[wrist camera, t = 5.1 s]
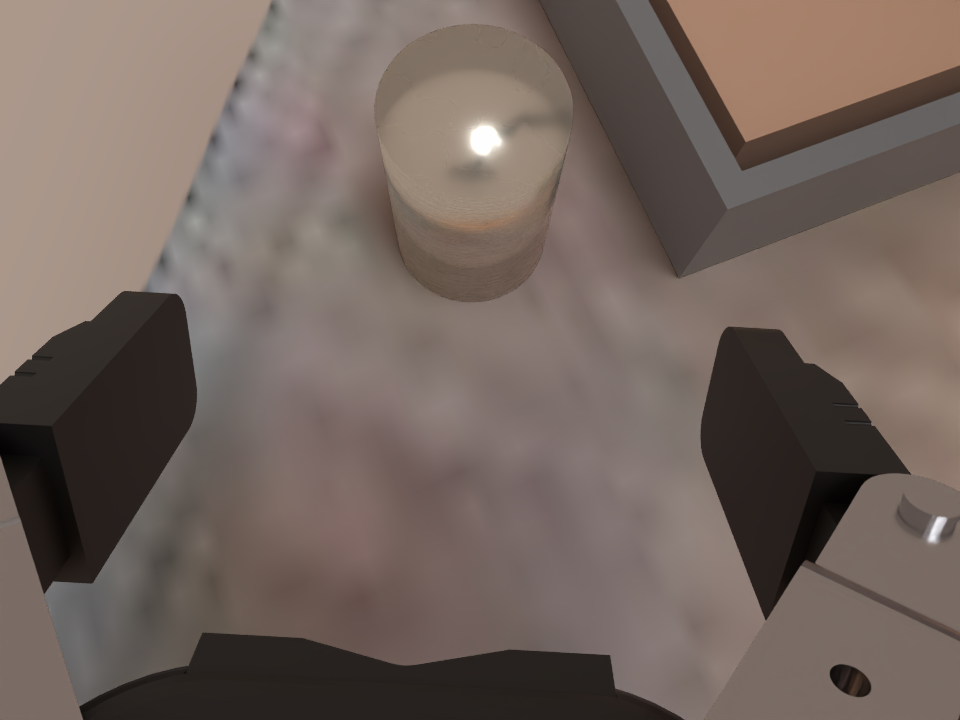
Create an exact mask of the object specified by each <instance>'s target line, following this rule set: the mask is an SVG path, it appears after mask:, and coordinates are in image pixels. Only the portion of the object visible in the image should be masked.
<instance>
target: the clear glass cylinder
mask: <svg viewBox="0 0 960 720" xmlns="http://www.w3.org/2000/svg"><path fill="white" fill-rule="evenodd" d="M573 111H574V110H573V100H572V95H571V91H570V88H569V85H568V83H567V80H566V78H565V76H564V74H563V73H562V71H561V69H560V68H559V66H558V65H557V64H556V62H555V61H554V60H553V59H552V57H550V56H549V55H548V54H547V53H546V52H545V51H544V50H543V49H542V48H541V47H539V46H538V45H537V44H535V43H534V42H532V41H531V40H529V39H527V38H526V37H524V36H522V35H519V34H517V33H515V32H513V31H509V30H506V29H503V28H499V27H494V26H489V25H478V24H470V25H458V26H451V27H447V28H443V29H439V30H436V31H434V32H431V33H429V34H426V35H424V36H423V37H421V38H419V39H417V40H415V41H414V42H412V43H411V44H410V45H408V46H407V47H406V48H404V49H403V50H402V51H401V52H400V53H399V54H398V55H397V56H396V57H395V58H394V60H393V61H392V62H391V63H390V65H389V66H388V68H387V69H386V71H385V72H384V74H383V77H382V79H381V81H380V83H379V86H378V90H377V93H376V99H375V121H376V126H377V132H378V137H379V143H380V148H381V153H382V159H383V164H384V169H385V174H386V180H387V185H388V190H389V196H390V201H391V206H392V212H393V217H394V222H395V228H396V233H397V238H398V244H399V249H400V252H401V255H402V258H403V260H404V262H405V264H406V266H407V268H408V269H409V271H410V272H411V274H412V275H413V276H414V277H415V278H416V279H417V281H419V282H420V283H421V284H422V285H423V286H424V287H426V288H427V289H429V290H430V291H432V292H434V293H436V294H438V295H440V296H442V297H445V298H448V299H451V300H456V301H461V302H482V301H488V300H492V299H495V298H499V297H501V296H503V295H506V294H508V293H509V292H511V291H513V290H514V289H516V288H517V287H518V286H520V285H521V284H522V283H523V282H524V281H525V280H526V279H527V278H528V277H529V276H530V275H531V273H532V272H533V271H534V269H535V268H536V266H537V264H538V262H539V260H540V257H541V254H542V251H543V247H544V242H545V238H546V234H547V230H548V226H549V221H550V217H551V213H552V209H553V205H554V201H555V196H556V192H557V188H558V184H559V180H560V175H561V171H562V167H563V163H564V159H565V155H566V150H567V146H568V142H569V138H570V134H571V129H572V124H573Z"/></svg>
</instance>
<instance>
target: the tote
mask: <svg viewBox="0 0 960 720" xmlns="http://www.w3.org/2000/svg"><path fill="white" fill-rule="evenodd" d="M540 2H541V4H542V6H543V8H544V10H545V12H546V14H547V16H548V18H549V20H550V22H551V24H552V26H553V28H554V30H555V32H556V34H557V36H558V38H559V40H560V42H561V44H562V46H563V48H564V50H565V52H566V54H567V56H568V58H569V60H570V62H571V64H572V66H573V68H574V70H575V72H576V74H577V76H578V78H579V80H580V82H581V84H582V86H583V88H584V90H585V92H586V94H587V96H588V98H589V100H590V102H591V104H592V106H593V108H594V110H595V112H596V114H597V116H598V118H599V120H600V122H601V124H602V126H603V128H604V130H605V132H606V134H607V136H608V138H609V140H610V142H611V144H612V146H613V148H614V150H615V152H616V153H617V155H618V157H619V159H620V161H621V163H622V165H623V167H624V169H625V171H626V173H627V175H628V177H629V179H630V181H631V183H632V185H633V187H634V189H635V191H636V193H637V195H638V197H639V199H640V201H641V203H642V205H643V207H644V209H645V211H646V213H647V215H648V217H649V219H650V221H651V223H652V225H653V227H654V229H655V231H656V233H657V235H658V237H659V239H660V241H661V243H662V245H663V247H664V249H665V251H666V253H667V255H668V257H669V259H670V261H671V263H672V265H673V267H674V269H675V271H676V273H677V275H678V277H679V278H681V277H684V276H686V275H689V274H691V273H694V272H697V271H699V270H702V269H705V268H707V267H710V266H713V265H715V264H718V263H721V262H723V261H726V260H728V259H731V258H734V257H736V256H739V255H742V254H744V253H747V252H750V251H752V250H755V249H757V248H760V247H763V246H765V245H768V244H771V243H773V242H776V241H779V240H781V239H784V238H787V237H789V236H792V235H794V234H797V233H800V232H802V231H805V230H808V229H810V228H813V227H816V226H818V225H821V224H823V223H826V222H829V221H831V220H834V219H837V218H839V217H842V216H845V215H847V214H850V213H853V212H855V211H858V210H860V209H863V208H866V207H868V206H871V205H874V204H876V203H879V202H882V201H884V200H887V199H889V198H892V197H895V196H897V195H900V194H903V193H905V192H908V191H911V190H913V189H916V188H919V187H921V186H924V185H926V184H929V183H932V182H934V181H937V180H940V179H942V178H945V177H948V176H950V175H953V174H955V173H958V172H960V91H959V92H958V93H955V94H953V95H950V96H947V97H944V98H942V99H939V100H936V101H933V102H931V103H928V104H925V105H922V106H920V107H917V108H914V109H911V110H909V111H906V112H903V113H900V114H898V115H895V116H892V117H889V118H887V119H884V120H881V121H878V122H876V123H873V124H870V125H867V126H865V127H862V128H859V129H856V130H854V131H851V132H848V133H845V134H843V135H840V136H837V137H834V138H832V139H829V140H826V141H824V142H821V143H818V144H815V145H813V146H810V147H807V148H804V149H802V150H799V151H796V152H793V153H791V154H788V155H785V156H782V157H780V158H777V159H774V160H771V161H769V162H766V163H763V164H760V165H758V166H755V167H752V168H749V169H747V170H744V171H742V170H741V169H740V167H739V165H738V163H737V161H736V159H735V158H734V156H733V154H732V152H731V150H730V149H729V147H728V145H727V143H726V141H725V139H724V138H723V136H722V134H721V132H720V130H719V128H718V127H717V125H716V123H715V121H714V119H713V117H712V116H711V114H710V112H709V110H708V108H707V107H706V105H705V103H704V101H703V99H702V97H701V96H700V94H699V92H698V90H697V88H696V86H695V85H694V83H693V81H692V79H691V77H690V76H689V74H688V72H687V70H686V68H685V66H684V65H683V63H682V61H681V59H680V57H679V55H678V54H677V52H676V50H675V48H674V46H673V44H672V43H671V41H670V39H669V37H668V35H667V34H666V32H665V30H664V28H663V26H662V24H661V23H660V21H659V19H658V17H657V15H656V13H655V12H654V10H653V8H652V6H651V4H650V3H649V1H648V0H540Z"/></svg>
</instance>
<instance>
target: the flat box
mask: <svg viewBox="0 0 960 720" xmlns="http://www.w3.org/2000/svg"><path fill="white" fill-rule="evenodd" d="M648 1H649V3H650V4H651V6H652V8H653V10H654V12H655V13H656V15H657V17H658V19H659V21H660V23H661V24H662V26H663V28H664V30H665V32H666V34H667V35H668V37H669V39H670V41H671V43H672V44H673V46H674V48H675V50H676V52H677V54H678V55H679V57H680V59H681V61H682V63H683V65H684V66H685V68H686V70H687V72H688V74H689V76H690V77H691V79H692V81H693V83H694V85H695V86H696V88H697V90H698V92H699V94H700V96H701V97H702V99H703V101H704V103H705V105H706V107H707V108H708V110H709V112H710V114H711V116H712V117H713V119H714V121H715V123H716V125H717V127H718V128H719V130H720V132H721V134H722V136H723V138H724V139H725V141H726V143H727V145H728V147H729V149H730V150H731V152H732V154H733V156H734V158H735V159H736V161H737V163H738V165H739V167H740V169H741V170H742V171H744V170H747V169H749V168H752V167H755V166H758V165H760V164H763V163H766V162H769V161H771V160H774V159H777V158H780V157H782V156H785V155H788V154H791V153H793V152H796V151H799V150H802V149H804V148H807V147H810V146H813V145H815V144H818V143H821V142H824V141H826V140H829V139H832V138H834V137H837V136H840V135H843V134H845V133H848V132H851V131H854V130H856V129H859V128H862V127H865V126H867V125H870V124H873V123H876V122H878V121H881V120H884V119H887V118H889V117H892V116H895V115H898V114H900V113H903V112H906V111H909V110H911V109H914V108H917V107H920V106H922V105H925V104H928V103H931V102H933V101H936V100H939V99H942V98H944V97H947V96H950V95H953V94H955V93H958V92H959V91H960V0H648Z"/></svg>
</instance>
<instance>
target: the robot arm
mask: <svg viewBox="0 0 960 720" xmlns="http://www.w3.org/2000/svg"><path fill="white" fill-rule="evenodd" d="M196 402H197V387H196V379H195V373H194V366H193V359H192V352H191V345H190V338H189V331H188V324H187V318H186V311H185V307H184V304H183V301H182V299H181V298H180V297H179V296H178V295H177V294H167V293H150V292H131V291H124V292H122V293H120V294H119V295H118V296H117V297H116V298H115V299H114V300H113V301H112V302H111V303H109V304H108V305H107V306H106V307H105V308H104V309H103V310H102V311H101V312H100V313H99V314H98V315H97V316H96V317H95V318H94V319H93V320H92V321H85V322H83V323H81V324H79V325H76V326H75V327H72V328H70V329H68V330H66V331H64V332H62V333H60V334H58V335H56V336H54V337H52V338H51V339H50V340H49V341H48V342H47V343H46V344H45V345H44V346H42V347H41V348H40V349H39V350H38V351H37V352H36V353H35V354H34V355H32V360H27V361H26V362H25V363H24V364H22V365H21V366H20V367H19V368H18V369H17V370H16V371H15V376H9V377H8V378H7V379H6V380H5V381H4V382H3V383H2V384H1V385H0V720H684V719H682V718H681V717H679V716H678V715H676V714H674V713H672V712H670V711H668V710H667V709H665V708H663V707H661V706H659V705H657V704H655V703H653V702H650V701H648V700H646V699H643V698H641V697H638V696H636V695H633V694H631V693H627V692H624V691H621V690H618V689H615V685H614V679H613V672H612V665H611V659H610V655H596V654H578V653H560V652H542V651H524V650H505V651H499V652H493V653H487V654H481V655H475V656H468V657H462V658H456V659H450V660H444V661H438V662H431V663H425V664H419V665H411V666H401V665H395V664H391V663H388V662H384V661H381V660H377V659H374V658H370V657H367V656H363V655H360V654H356V653H353V652H349V651H346V650H342V649H339V648H335V647H332V646H328V645H325V644H321V643H318V642H314V641H311V640H307V639H304V638H289V637H271V636H253V635H235V634H217V633H202V635H201V638H200V640H199V642H198V645H197V647H196V650H195V652H194V654H193V657H192V659H191V661H190V664H189V666H185V667H179V668H174V669H170V670H166V671H162V672H159V673H155V674H151V675H148V676H145V677H142V678H140V679H137V680H134V681H131V682H128V683H126V684H123V685H121V686H119V687H117V688H115V689H112V690H110V691H108V692H106V693H104V694H102V695H99V696H98V697H96V698H94V699H92V700H91V701H89V702H87V703H85V704H83V705H82V706H80V707H79V705H78V702H77V699H76V695H75V692H74V689H73V686H72V683H71V680H70V676H69V673H68V670H67V667H66V664H65V660H64V657H63V654H62V651H61V648H60V644H59V641H58V638H57V635H56V632H55V628H54V625H53V622H52V619H51V616H50V612H49V609H48V606H47V603H46V600H45V596H44V594H45V592H46V591H47V589H48V588H49V586H50V585H51V583H52V582H53V581H56V582H74V583H93V582H94V580H95V578H96V577H97V575H98V574H99V572H100V570H101V569H102V567H103V566H104V564H105V562H106V561H107V559H108V558H109V556H110V554H111V553H112V551H113V550H114V548H115V546H116V545H117V543H118V542H119V540H120V538H121V537H122V535H123V534H124V532H125V530H126V529H127V527H128V526H129V524H130V522H131V521H132V519H133V518H134V516H135V514H136V513H137V511H138V510H139V508H140V506H141V505H142V503H143V502H144V500H145V498H146V497H147V495H148V494H149V492H150V490H151V489H152V487H153V486H154V484H155V482H156V481H157V479H158V478H159V476H160V474H161V473H162V471H163V470H164V468H165V466H166V465H167V463H168V462H169V460H170V458H171V457H172V455H173V454H174V452H175V451H176V449H177V447H178V446H179V444H180V443H181V441H182V439H183V438H184V436H185V435H186V433H187V431H188V430H189V428H190V426H191V424H192V421H193V418H194V415H195V410H196ZM701 449H702V454H703V458H704V461H705V463H706V466H707V468H708V471H709V474H710V476H711V479H712V481H713V484H714V487H715V489H716V492H717V495H718V497H719V500H720V502H721V505H722V508H723V510H724V513H725V515H726V518H727V521H728V523H729V526H730V529H731V531H732V534H733V536H734V539H735V542H736V544H737V547H738V549H739V552H740V555H741V557H742V560H743V562H744V565H745V568H746V570H747V573H748V576H749V578H750V581H751V583H752V586H753V589H754V591H755V594H756V596H757V599H758V602H759V604H760V607H761V609H762V612H763V615H764V617H765V620H766V622H765V623H764V625H763V627H762V628H761V630H760V631H759V633H758V635H757V636H756V638H755V639H754V641H753V643H752V644H751V646H750V647H749V649H748V651H747V652H746V654H745V655H744V657H743V659H742V660H741V662H740V663H739V665H738V667H737V668H736V670H735V671H734V673H733V674H732V676H731V678H730V679H729V681H728V682H727V684H726V686H725V687H724V689H723V690H722V692H721V694H720V695H719V697H718V698H717V700H716V702H715V703H714V705H713V706H712V708H711V710H710V711H709V713H708V714H707V716H706V718H705V719H704V720H960V492H959V491H958V490H956V489H954V488H952V487H949V486H947V485H945V484H942V483H940V482H937V481H934V480H931V479H927V478H924V477H920V476H915V475H911V474H910V472H909V471H908V470H907V468H906V467H905V466H904V464H903V463H902V462H901V460H900V459H899V458H898V456H897V455H896V454H895V452H894V451H893V450H892V448H891V447H890V446H889V444H888V443H887V442H886V440H885V439H884V438H883V436H882V435H881V434H880V432H879V431H878V430H877V428H876V427H875V426H871V420H870V419H869V418H868V416H867V415H866V414H865V412H864V411H863V410H862V408H858V403H857V402H856V400H855V399H854V398H853V396H852V395H851V394H850V393H849V391H848V390H847V389H846V387H845V386H844V385H843V383H842V382H840V381H839V380H837V379H836V378H834V377H833V376H831V375H830V374H828V373H827V372H825V371H824V370H823V369H821V368H820V367H818V366H817V365H815V364H807V363H804V362H803V361H802V359H801V358H800V356H799V355H798V353H797V352H796V351H795V349H794V348H793V346H792V345H791V343H790V342H789V341H788V339H787V338H786V336H785V335H784V333H783V332H782V331H781V330H778V329H761V328H743V327H727V328H726V329H725V330H724V331H723V333H722V335H721V338H720V341H719V345H718V349H717V354H716V358H715V362H714V367H713V371H712V376H711V380H710V385H709V389H708V393H707V398H706V402H705V407H704V411H703V416H702V422H701Z"/></svg>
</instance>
